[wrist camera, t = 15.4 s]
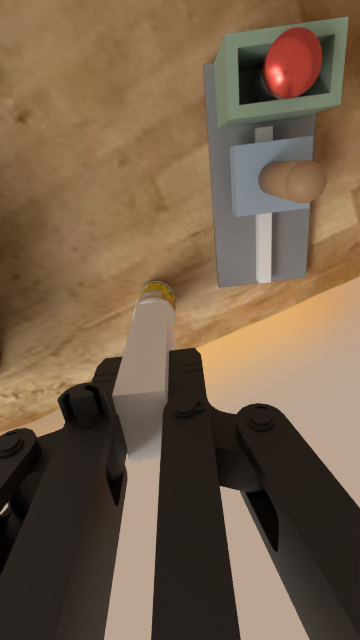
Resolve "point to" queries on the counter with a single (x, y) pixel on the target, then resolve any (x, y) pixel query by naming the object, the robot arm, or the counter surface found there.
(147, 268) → the counter surface
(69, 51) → the counter surface
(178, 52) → the counter surface
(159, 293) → the supplement bottle
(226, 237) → the track
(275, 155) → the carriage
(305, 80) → the button
